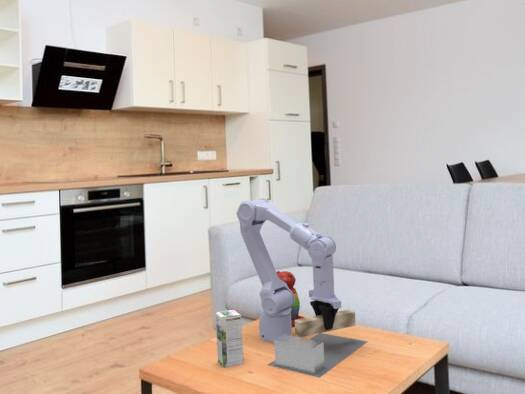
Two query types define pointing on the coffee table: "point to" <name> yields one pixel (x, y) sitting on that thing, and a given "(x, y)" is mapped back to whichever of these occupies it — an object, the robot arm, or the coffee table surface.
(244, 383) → the coffee table surface
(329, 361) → the board
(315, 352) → the grey rectangular block
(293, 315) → the stacking bear
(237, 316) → the syrup box
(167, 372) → the coffee table surface
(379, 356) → the coffee table surface
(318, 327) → the slat
